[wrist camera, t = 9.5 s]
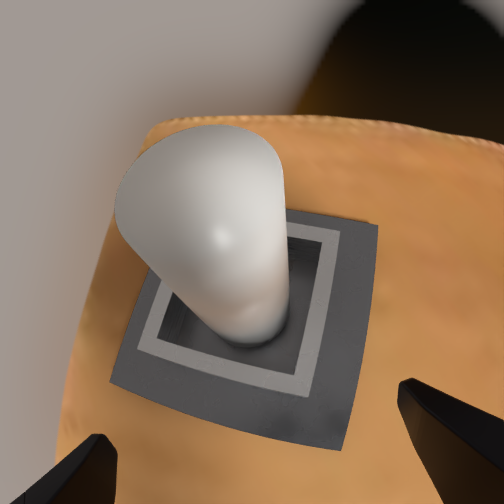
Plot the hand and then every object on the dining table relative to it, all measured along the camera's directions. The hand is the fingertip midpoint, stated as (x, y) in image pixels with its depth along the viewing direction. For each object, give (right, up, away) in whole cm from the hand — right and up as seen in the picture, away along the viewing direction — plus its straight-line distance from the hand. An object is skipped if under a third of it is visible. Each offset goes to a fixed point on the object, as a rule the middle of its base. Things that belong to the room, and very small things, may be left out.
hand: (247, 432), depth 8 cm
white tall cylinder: (0, +1, +13) cm, 13 cm away
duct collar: (0, +1, +14) cm, 14 cm away
